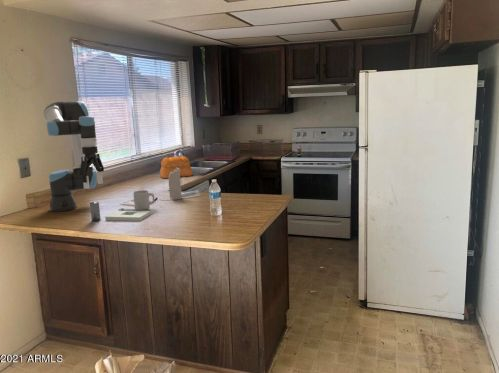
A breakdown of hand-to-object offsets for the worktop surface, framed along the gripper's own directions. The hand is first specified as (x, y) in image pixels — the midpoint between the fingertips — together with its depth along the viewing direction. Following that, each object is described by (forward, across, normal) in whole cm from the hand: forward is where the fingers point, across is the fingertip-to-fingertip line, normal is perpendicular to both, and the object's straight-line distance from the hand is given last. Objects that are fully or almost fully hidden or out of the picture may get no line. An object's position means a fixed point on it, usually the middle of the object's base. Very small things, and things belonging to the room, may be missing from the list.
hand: (93, 186), depth 226 cm
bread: (+19, +137, +4) cm, 139 cm away
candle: (+19, +52, -22) cm, 60 cm away
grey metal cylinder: (+19, -1, 0) cm, 19 cm away
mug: (+19, +24, -17) cm, 35 cm away
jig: (+19, +8, -15) cm, 25 cm away
